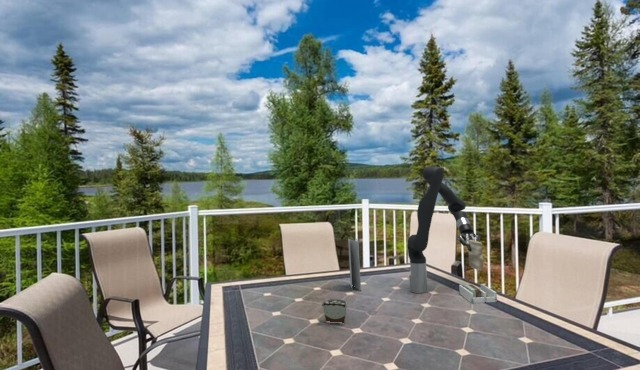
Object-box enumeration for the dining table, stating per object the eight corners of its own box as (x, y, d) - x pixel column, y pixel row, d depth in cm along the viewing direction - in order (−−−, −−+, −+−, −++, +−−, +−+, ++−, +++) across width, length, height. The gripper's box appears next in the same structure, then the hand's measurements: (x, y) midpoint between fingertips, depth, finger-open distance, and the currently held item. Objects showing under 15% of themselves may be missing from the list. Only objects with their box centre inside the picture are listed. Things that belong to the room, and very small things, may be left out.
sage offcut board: (472, 301, 197) (471, 289, 197) (464, 295, 207) (464, 284, 207) (476, 301, 197) (475, 289, 197) (468, 295, 207) (467, 284, 207)
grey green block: (476, 301, 197) (476, 289, 197) (469, 295, 207) (468, 284, 207) (480, 300, 197) (479, 289, 197) (472, 295, 207) (472, 284, 207)
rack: (471, 303, 194) (471, 293, 194) (459, 293, 211) (459, 284, 211) (496, 301, 194) (496, 292, 194) (482, 292, 211) (482, 283, 211)
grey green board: (477, 270, 204) (476, 243, 204) (469, 265, 216) (467, 240, 216) (483, 270, 204) (482, 243, 204) (474, 265, 216) (473, 239, 216)
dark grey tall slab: (361, 290, 226) (358, 241, 226) (351, 291, 226) (349, 242, 226) (359, 284, 240) (356, 238, 240) (350, 285, 240) (348, 238, 240)
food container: (351, 320, 178) (350, 299, 178) (347, 324, 172) (346, 303, 172) (326, 318, 182) (325, 298, 182) (322, 322, 176) (321, 301, 176)
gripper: (454, 223, 222) (463, 247, 209) (477, 222, 222) (488, 246, 209) (451, 231, 227) (460, 254, 215) (474, 230, 227) (484, 253, 215)
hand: (473, 250), depth 212 cm, fingers closed on grey green board, 3 cm apart
